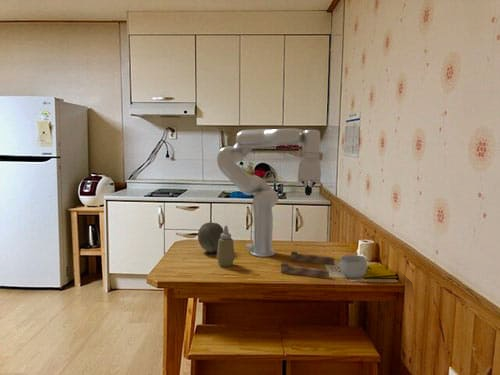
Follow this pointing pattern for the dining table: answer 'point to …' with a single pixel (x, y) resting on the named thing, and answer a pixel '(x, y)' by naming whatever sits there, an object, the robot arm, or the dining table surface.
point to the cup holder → (304, 270)
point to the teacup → (353, 266)
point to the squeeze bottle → (225, 249)
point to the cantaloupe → (210, 236)
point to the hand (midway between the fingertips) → (308, 195)
